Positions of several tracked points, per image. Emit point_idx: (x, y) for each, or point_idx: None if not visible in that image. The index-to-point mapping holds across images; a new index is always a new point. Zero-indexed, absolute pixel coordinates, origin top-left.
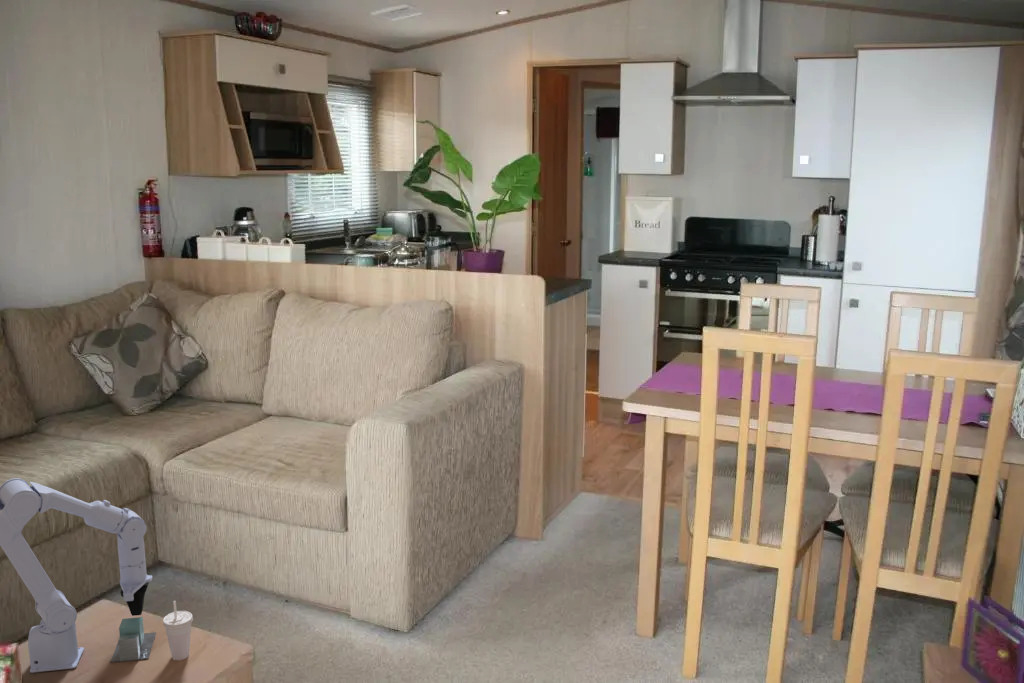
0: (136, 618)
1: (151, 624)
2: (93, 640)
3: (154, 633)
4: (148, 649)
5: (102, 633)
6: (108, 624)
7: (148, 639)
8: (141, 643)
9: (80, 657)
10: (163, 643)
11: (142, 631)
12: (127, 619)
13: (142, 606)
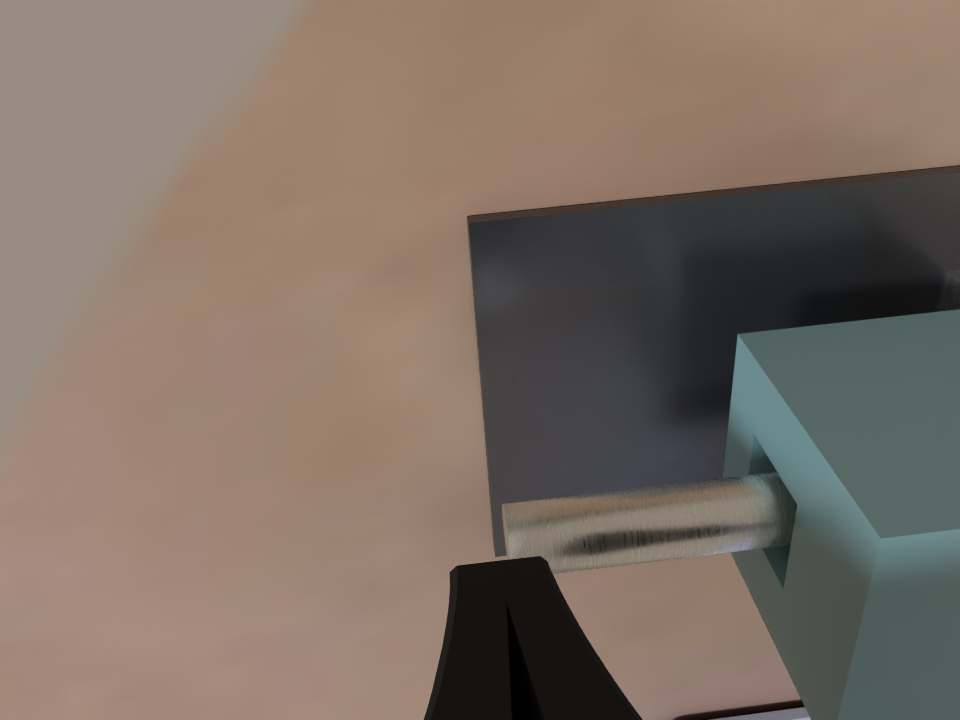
0: (892, 607)
1: (230, 330)
2: None
3: (498, 235)
4: (876, 207)
5: (406, 688)
6: (240, 695)
7: (632, 269)
8: (949, 320)
9: (798, 708)
10: (745, 52)
11: (881, 394)
12: (873, 702)
13: (547, 651)
